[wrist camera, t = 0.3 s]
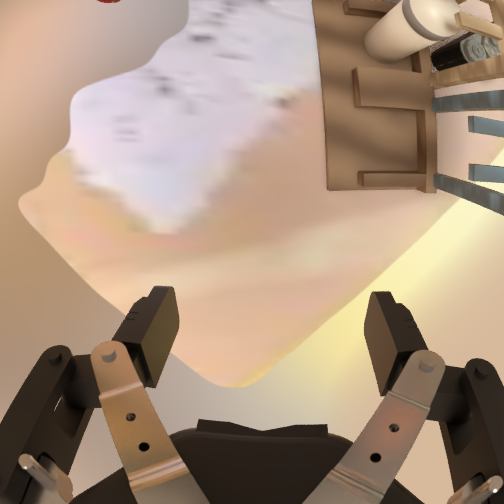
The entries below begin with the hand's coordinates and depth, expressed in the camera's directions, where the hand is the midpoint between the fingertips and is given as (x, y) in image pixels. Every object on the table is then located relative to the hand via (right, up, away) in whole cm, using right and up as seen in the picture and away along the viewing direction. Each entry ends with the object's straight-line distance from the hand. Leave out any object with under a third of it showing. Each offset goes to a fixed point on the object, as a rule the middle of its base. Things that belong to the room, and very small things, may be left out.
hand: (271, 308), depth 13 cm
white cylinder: (+15, +27, +17) cm, 35 cm away
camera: (+29, +29, +17) cm, 44 cm away
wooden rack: (+14, +21, +20) cm, 32 cm away
